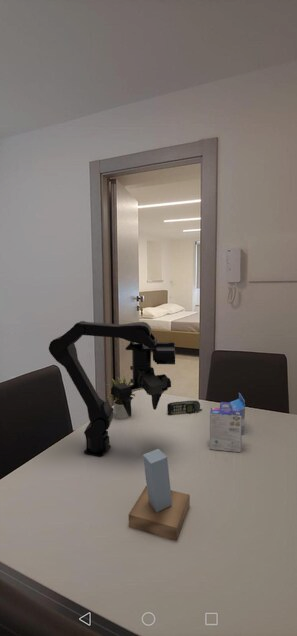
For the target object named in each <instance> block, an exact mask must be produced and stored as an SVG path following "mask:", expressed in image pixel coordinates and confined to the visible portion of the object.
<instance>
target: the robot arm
mask: <svg viewBox="0 0 297 636" xmlns="http://www.w3.org/2000/svg"><path fill="white" fill-rule="evenodd" d="M83 336H89V337H103V338H117V339H118V338H119V339H122V340H125V341H128V342H130V343H128V345H127V346H126V347H125V350H126V351H131V352H132V353H131V358H132V359H131V360H132V363H131V364H132V365H131V366H129V367H130V368H129V369H130V370H131V371H132V378H130V379H129V381H131V384H130V385H129V386H128V384H127V385H126V384H124V383H123V382H122V383H120V382H119V383H117V384H113V385H112V386H111V388H110V392H111V394H110V395H111V396H113V395H114V396H113V397H114V398H116V397H117V398H118V399H120V400H121V402H122V403H123V405H124V408H125V410H126V412H127V414H128V416H129V417H128V418H130V417H132V401H133V400H134V399H133V398H134V397H133V396H132V394H133V392H136V391H140V390H144V391H145V393H146V395H148V396H151V405H152V409H153V410H155V411H156V409H157V408H158V405H159V402H160V399H161V396H162V395H163V394H164V393H165V392H166V391H168V389H170V388H172V380H171V378H169V377H168V375H166V374H155V369H154V367H153V366H152V361H153V362H154V363H156V365H176V349H175V347H176V346H175V341H164V342H163V341H162V342H161V341H160V342H159V341H158V340H157V338H156V337H155V335H154V334H153V333H152V328H151V326H150V325H149V323H147V322H145V321H137V322H130V323H124V324H119V323H104V322H90V321H84V320H82V321H81V320H80V321H79V322H76V323H75V324H74V325H73V326H72V327H71V328H70V329H69V330H67V332H65V333H64V334H62V335H60V336H58V337H56V338H54V339H53V340H51V341H50V343H49V345H48V351H49V353H50V355H51V356H52V357H53V359H54V360H55V361H56V362H57V363H58V364H60V365H61V366H62V367H64V369H65V371H66V372H67V374H68V376H69V379H71V381H72V383H73V384H74V386H75V389H76V390H77V391H78V394H79V395H80V397H81V399H82V401H83V403H84V404H85V405H86V408H87V415H88V421H89V422H88V424H87V426H86V427H85V429H84V431H83V433H84V436H85V445H86V447H85V448H86V449H84V450H83V454H85V455H91V456H95V457H103V456H104V455H105V454H106V453H107V452H108V450H109V449H110V448H111V447H112V446H111V444H110V436H109V435H108V434H109V433H108V432H109V431H108V429H109V428H110V426H111V424H112V421H113V419H114V415H115V412H114V411H115V409H114V407H112V406H111V404H110V401H109V399H106V400H104V399H102V398H100V396H99V394H98V393H97V391H96V389H95V388H94V387H95V386H93V384H92V382H91V380H90V378H89V376H88V375H87V373H86V371H85V370H84V368H83V366H82V364H81V363H80V360H79V358H78V350H77V348H76V344H75V343H77V342H78V340H80V339H81V338H82V337H83ZM132 397H133V398H132ZM117 398H116V399H117Z"/></svg>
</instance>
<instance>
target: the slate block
mask: <svg viewBox="0 0 297 636" xmlns="http://www.w3.org/2000/svg"><path fill="white" fill-rule="evenodd" d="M142 458H143V466H144V474H145V482H146V485H147V492H148V500H149V502H150V504H151V505H152V507H153V508H154V509H155V511H156V512H159V511H161V510H163V509H165V508H167V507H169V506H171V505H172V498H171V481H170V480H171V479H170V472H169V463H168V462H169V461H168V457H167V456H166V454H164V452H162V451H161V450H160V449H159V448H157V449H154V450H151V451H148V452H147V453H144V454H143V455H142Z"/></svg>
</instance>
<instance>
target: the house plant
mask: <svg viewBox="0 0 297 636" xmlns="http://www.w3.org/2000/svg"><path fill="white" fill-rule="evenodd" d="M122 378H123V379H122V380H121V378H119V377H118V376H117V379H118V380H119V384H120V383H124V384H126V385H128V386H129V385H132V383H131V380H129V381H128V382H127V380H126V378H125V376H123V377H122ZM111 380H112V383H113V385H115V384H118V382H117V381H116V380H115V379H113V378H111ZM106 385H108V386H109V387H111V385H110V384H108V383H106ZM108 393H109V394H110V395H109V396H107V398H111V399H113V409H114V415H115V418H116V419H118V420H127V419H128V418H130V417H129V416H128V414H127V412H126V410H125V408H124V405H123V403H122V402H121V400H120V399H118V398H117V397H115V396H114V395H112V394H111V391H108ZM131 397H132V398H133V399H132V400H135V398H134V397H136V394H135V393H132V395H131Z"/></svg>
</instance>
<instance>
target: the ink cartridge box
mask: <svg viewBox="0 0 297 636" xmlns="http://www.w3.org/2000/svg"><path fill="white" fill-rule="evenodd" d="M225 405H227V406H225ZM229 406H230V407H229ZM209 413H210V415H209V449H210V450H215V451H226V452H235V453H241V451H242V447H241V446H242V435H241V431H242V414H241V410H240V409H232V406H231V403H229V402H228V401H227V402H225V401H220V402H219V407H210V411H209Z"/></svg>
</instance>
